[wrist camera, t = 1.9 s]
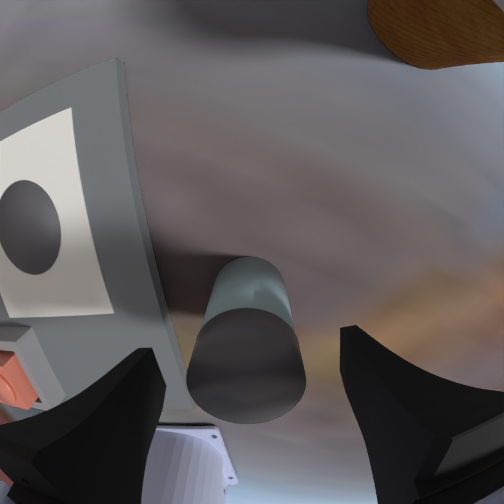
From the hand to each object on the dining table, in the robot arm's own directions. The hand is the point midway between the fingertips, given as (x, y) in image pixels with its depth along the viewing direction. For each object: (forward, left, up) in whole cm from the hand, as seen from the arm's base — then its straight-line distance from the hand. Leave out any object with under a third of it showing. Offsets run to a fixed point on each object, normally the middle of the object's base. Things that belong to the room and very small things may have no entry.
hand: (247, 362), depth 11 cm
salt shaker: (0, 0, -7) cm, 7 cm away
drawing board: (+3, +14, -7) cm, 16 cm away
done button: (-4, +19, -4) cm, 20 cm away
